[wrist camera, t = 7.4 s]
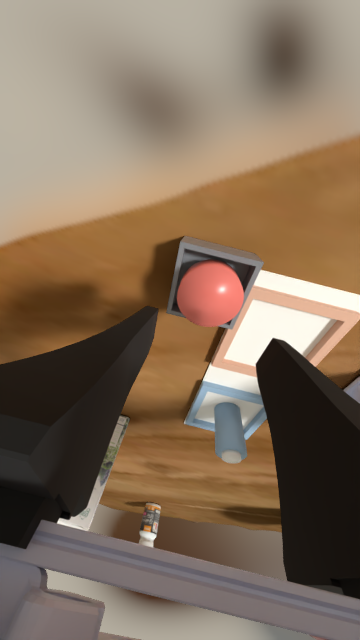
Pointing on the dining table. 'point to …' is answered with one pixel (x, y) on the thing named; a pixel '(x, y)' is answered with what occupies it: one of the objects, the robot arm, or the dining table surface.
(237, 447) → the blue cylinder
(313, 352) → the region terracotta
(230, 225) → the dining table surface
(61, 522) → the syrup box
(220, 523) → the dining table surface
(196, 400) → the region blue
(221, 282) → the button
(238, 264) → the button base
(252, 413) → the sheet
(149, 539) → the pill bottle
